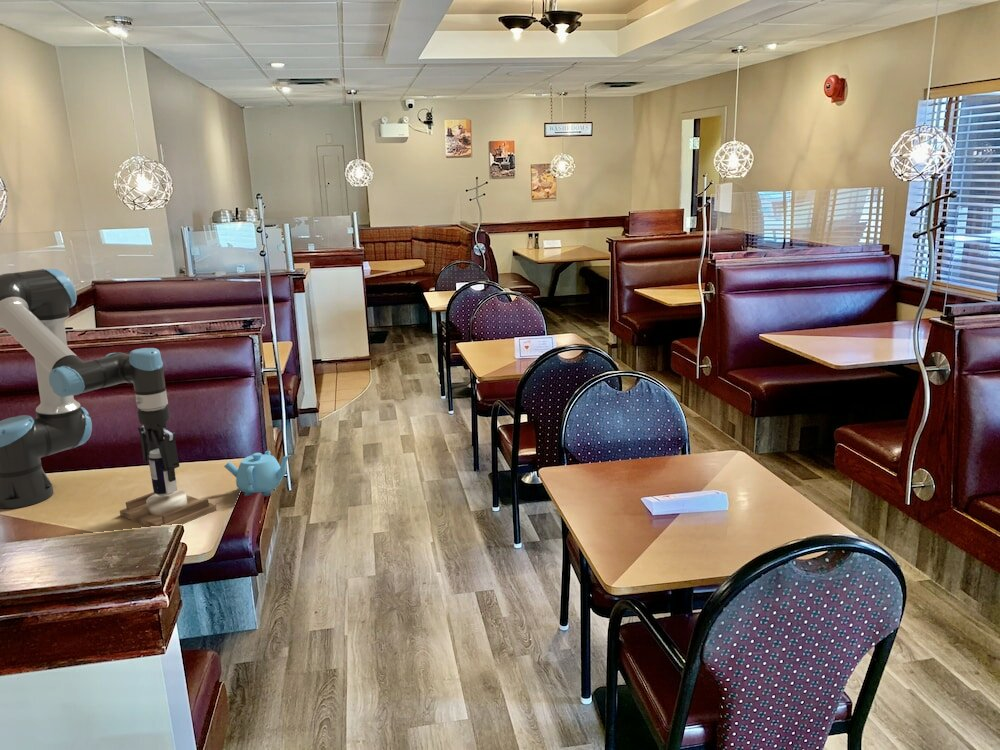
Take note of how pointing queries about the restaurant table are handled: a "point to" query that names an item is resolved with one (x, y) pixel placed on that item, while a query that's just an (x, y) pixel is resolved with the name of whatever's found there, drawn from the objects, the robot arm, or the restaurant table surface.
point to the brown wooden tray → (166, 509)
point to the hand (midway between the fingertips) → (165, 489)
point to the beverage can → (157, 472)
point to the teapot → (258, 473)
